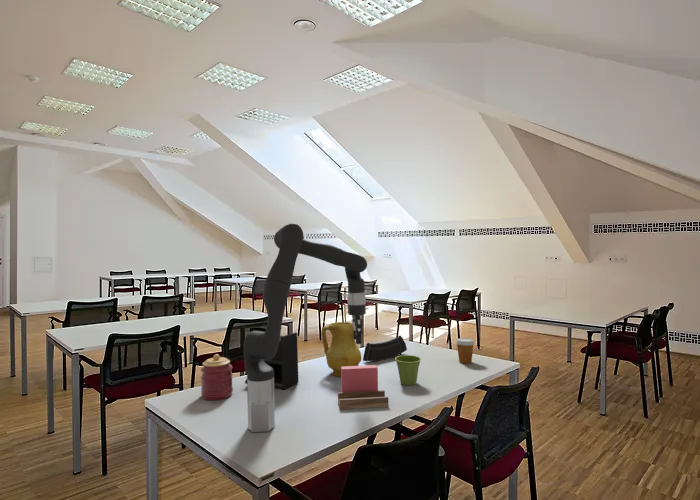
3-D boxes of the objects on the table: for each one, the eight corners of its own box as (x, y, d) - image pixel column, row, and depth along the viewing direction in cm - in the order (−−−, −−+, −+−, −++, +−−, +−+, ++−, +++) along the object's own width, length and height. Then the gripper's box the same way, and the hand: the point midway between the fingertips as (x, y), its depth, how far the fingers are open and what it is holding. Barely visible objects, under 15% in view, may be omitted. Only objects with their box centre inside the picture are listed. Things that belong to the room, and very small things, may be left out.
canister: (224, 388, 197) (223, 349, 197) (238, 395, 187) (237, 354, 187) (196, 395, 189) (195, 354, 188) (208, 403, 179) (208, 359, 179)
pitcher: (342, 380, 205) (340, 325, 206) (318, 373, 219) (317, 323, 221) (369, 373, 216) (367, 322, 218) (344, 368, 231) (343, 320, 232)
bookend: (244, 382, 205) (243, 332, 205) (260, 376, 215) (259, 328, 214) (284, 390, 194) (283, 336, 193) (299, 383, 203) (298, 332, 203)
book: (378, 396, 184) (377, 367, 184) (342, 398, 182) (341, 369, 182) (376, 393, 188) (376, 365, 188) (341, 394, 186) (340, 366, 186)
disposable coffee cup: (454, 359, 239) (454, 337, 239) (472, 359, 239) (472, 337, 239) (458, 364, 230) (457, 341, 230) (476, 364, 229) (476, 341, 229)
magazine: (362, 347, 233) (401, 324, 250) (358, 346, 235) (397, 323, 253) (370, 376, 236) (408, 351, 254) (366, 375, 239) (404, 350, 256)
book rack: (388, 406, 172) (388, 397, 172) (339, 409, 170) (339, 400, 170) (384, 398, 181) (384, 390, 181) (338, 401, 179) (337, 392, 179)
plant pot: (390, 383, 201) (389, 358, 200) (406, 377, 209) (405, 353, 209) (411, 389, 192) (410, 363, 192) (426, 382, 201) (426, 358, 201)
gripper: (368, 305, 178) (368, 345, 179) (363, 300, 192) (363, 337, 193) (349, 305, 178) (350, 345, 178) (346, 301, 192) (346, 338, 192)
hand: (357, 341), depth 185 cm, fingers open, 8 cm apart
